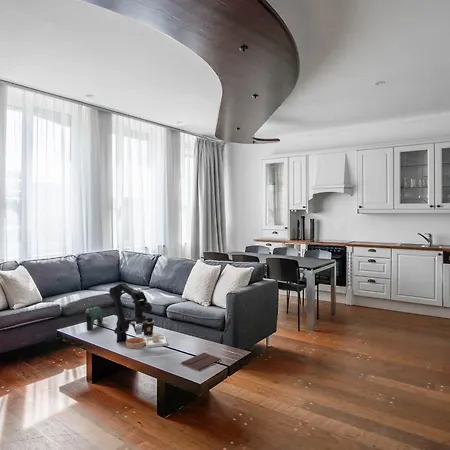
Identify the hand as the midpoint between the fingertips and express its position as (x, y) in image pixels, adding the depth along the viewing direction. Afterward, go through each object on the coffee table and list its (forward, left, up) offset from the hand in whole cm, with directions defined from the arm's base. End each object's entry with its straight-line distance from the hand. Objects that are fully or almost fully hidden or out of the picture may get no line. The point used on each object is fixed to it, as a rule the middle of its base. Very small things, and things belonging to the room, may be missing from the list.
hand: (138, 332), depth 251 cm
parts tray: (+12, +2, -10) cm, 15 cm away
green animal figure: (-33, +54, -10) cm, 64 cm away
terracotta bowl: (-2, +2, -10) cm, 10 cm away
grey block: (0, 0, -1) cm, 1 cm away
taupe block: (+12, +5, -9) cm, 16 cm away
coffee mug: (+6, +23, -10) cm, 26 cm away
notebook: (+36, -38, -11) cm, 54 cm away
